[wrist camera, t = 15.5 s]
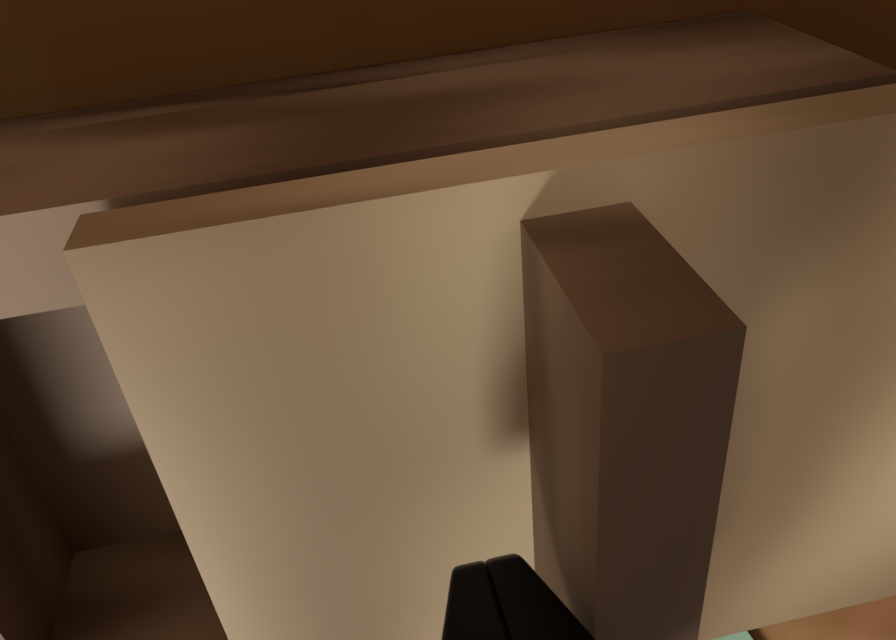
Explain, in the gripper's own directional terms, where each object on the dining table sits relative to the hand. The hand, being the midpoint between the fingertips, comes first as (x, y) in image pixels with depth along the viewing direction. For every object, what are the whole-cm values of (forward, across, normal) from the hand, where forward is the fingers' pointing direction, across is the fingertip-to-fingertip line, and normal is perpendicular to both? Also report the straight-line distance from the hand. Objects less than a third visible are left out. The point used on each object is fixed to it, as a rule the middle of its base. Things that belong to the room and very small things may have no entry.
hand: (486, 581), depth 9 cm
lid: (+2, -4, 0) cm, 5 cm away
